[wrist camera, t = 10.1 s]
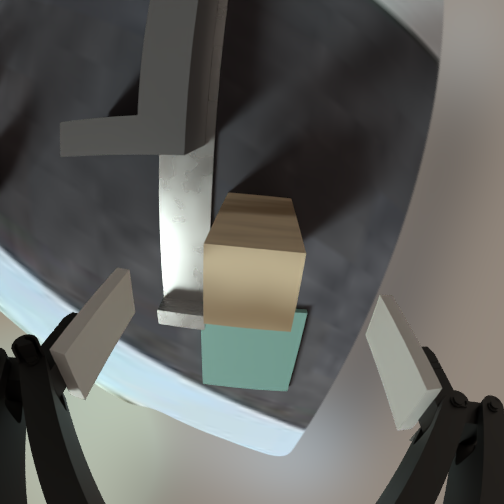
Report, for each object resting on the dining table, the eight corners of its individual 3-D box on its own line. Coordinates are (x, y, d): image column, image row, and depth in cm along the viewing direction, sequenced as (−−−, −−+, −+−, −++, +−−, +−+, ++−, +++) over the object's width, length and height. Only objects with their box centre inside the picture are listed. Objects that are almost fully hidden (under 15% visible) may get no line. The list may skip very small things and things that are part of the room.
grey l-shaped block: (120, -22, 15) (87, -46, 9) (223, -35, 15) (211, -71, 9) (102, 145, 22) (60, 157, 16) (204, 145, 21) (184, 155, 16)
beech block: (228, 192, 23) (203, 243, 14) (291, 198, 23) (306, 253, 14) (225, 249, 26) (203, 323, 17) (283, 254, 26) (290, 331, 17)
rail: (185, -57, 13) (178, -70, 11) (237, -60, 13) (234, -74, 11) (166, 308, 29) (158, 323, 26) (209, 313, 29) (204, 330, 26)
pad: (201, 299, 28) (200, 303, 27) (306, 309, 28) (307, 313, 27) (203, 379, 33) (203, 383, 33) (286, 387, 33) (287, 391, 33)
